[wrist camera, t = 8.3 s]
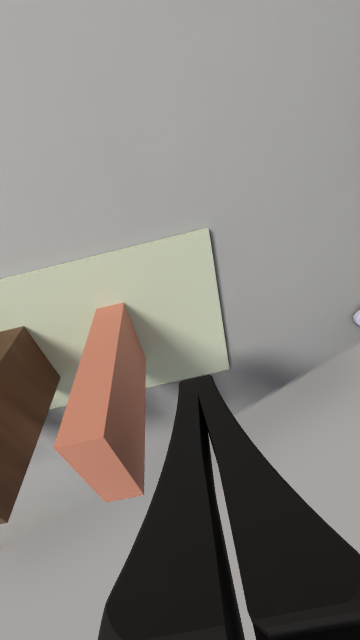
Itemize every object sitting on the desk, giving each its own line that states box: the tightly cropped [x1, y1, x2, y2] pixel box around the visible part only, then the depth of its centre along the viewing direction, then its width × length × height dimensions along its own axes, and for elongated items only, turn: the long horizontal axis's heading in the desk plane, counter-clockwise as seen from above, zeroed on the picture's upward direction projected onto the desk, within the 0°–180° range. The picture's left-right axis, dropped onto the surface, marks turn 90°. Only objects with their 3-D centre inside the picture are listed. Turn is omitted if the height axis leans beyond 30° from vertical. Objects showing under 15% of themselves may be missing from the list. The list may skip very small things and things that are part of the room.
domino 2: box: [54, 302, 146, 502], centre depth 13 cm, size 2×4×8 cm, turn 12°
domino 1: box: [0, 326, 61, 524], centre depth 13 cm, size 2×4×8 cm, turn 12°
